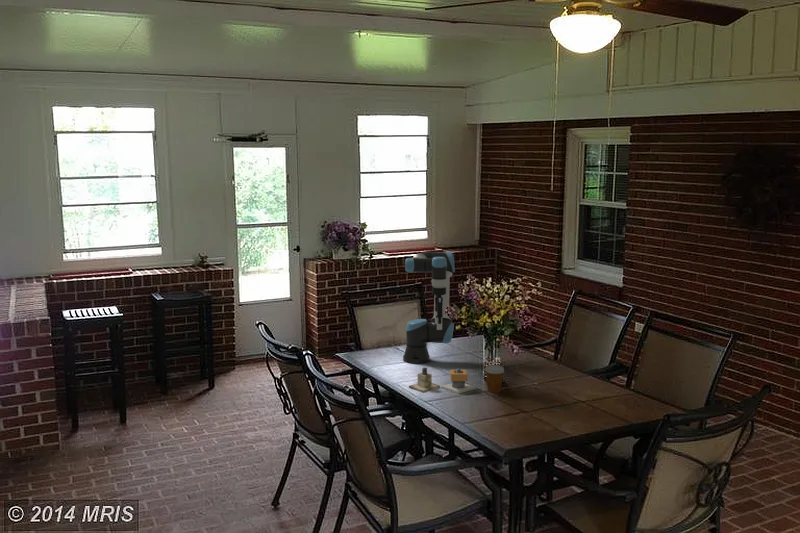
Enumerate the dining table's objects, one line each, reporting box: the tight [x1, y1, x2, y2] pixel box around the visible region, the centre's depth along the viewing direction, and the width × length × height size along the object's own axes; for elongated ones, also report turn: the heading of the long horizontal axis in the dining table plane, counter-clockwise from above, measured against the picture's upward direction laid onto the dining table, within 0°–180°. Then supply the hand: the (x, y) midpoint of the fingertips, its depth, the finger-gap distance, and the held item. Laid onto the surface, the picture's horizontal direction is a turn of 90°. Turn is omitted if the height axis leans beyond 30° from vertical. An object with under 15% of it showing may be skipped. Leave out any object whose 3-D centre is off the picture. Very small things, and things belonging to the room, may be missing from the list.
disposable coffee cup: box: [484, 364, 505, 394], centre depth 364 cm, size 10×10×12 cm
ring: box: [449, 369, 469, 382], centre depth 367 cm, size 8×8×4 cm
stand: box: [408, 367, 441, 393], centre depth 368 cm, size 12×10×10 cm
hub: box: [440, 368, 476, 395], centre depth 367 cm, size 12×12×10 cm
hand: (438, 326), depth 385 cm, fingers open, 13 cm apart
